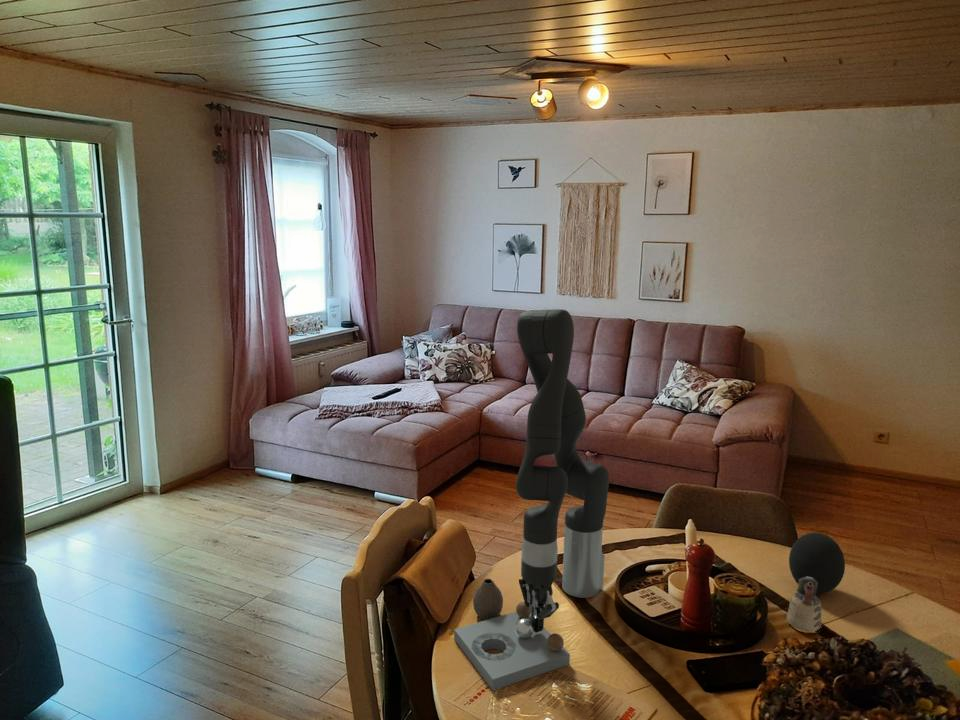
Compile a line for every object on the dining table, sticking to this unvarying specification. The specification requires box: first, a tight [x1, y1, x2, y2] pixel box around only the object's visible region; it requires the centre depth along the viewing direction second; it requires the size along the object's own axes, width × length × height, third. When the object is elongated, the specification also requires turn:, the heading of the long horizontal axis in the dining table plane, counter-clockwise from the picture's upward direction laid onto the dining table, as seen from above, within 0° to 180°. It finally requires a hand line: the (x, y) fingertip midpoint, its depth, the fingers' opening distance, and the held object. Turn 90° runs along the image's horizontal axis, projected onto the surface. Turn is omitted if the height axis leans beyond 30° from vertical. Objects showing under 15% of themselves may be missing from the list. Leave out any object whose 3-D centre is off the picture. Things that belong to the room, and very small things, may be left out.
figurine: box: [786, 577, 823, 631], centre depth 153 cm, size 7×7×12 cm
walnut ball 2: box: [547, 632, 565, 651], centre depth 140 cm, size 3×3×3 cm
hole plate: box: [453, 611, 571, 691], centre depth 143 cm, size 18×18×2 cm
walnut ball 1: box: [515, 601, 531, 618], centre depth 151 cm, size 3×3×3 cm
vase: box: [472, 578, 504, 621], centre depth 155 cm, size 7×7×9 cm
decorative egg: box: [788, 532, 846, 595], centre depth 167 cm, size 12×12×15 cm
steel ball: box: [515, 619, 534, 639], centre depth 144 cm, size 4×4×4 cm
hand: (536, 629), depth 146 cm, fingers closed
